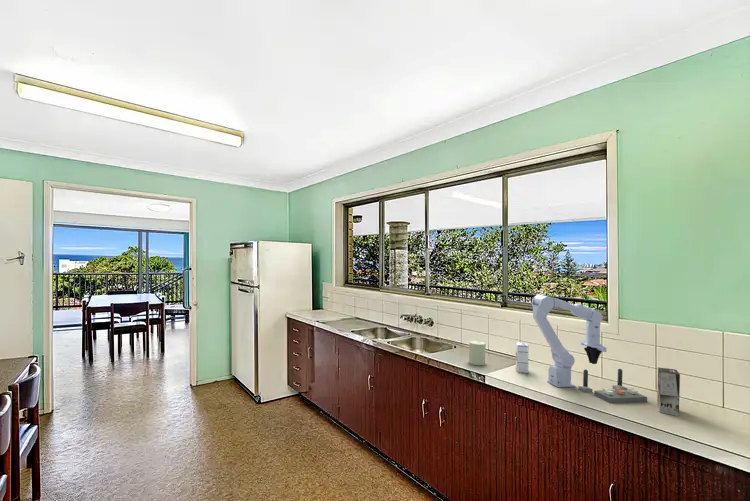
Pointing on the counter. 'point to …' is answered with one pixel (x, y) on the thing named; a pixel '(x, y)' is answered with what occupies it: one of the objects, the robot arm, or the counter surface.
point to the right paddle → (632, 391)
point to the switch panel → (620, 397)
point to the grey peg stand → (585, 383)
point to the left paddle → (608, 391)
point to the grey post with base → (619, 381)
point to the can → (477, 352)
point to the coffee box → (668, 391)
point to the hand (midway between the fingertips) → (593, 363)
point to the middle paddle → (620, 391)
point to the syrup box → (522, 357)
